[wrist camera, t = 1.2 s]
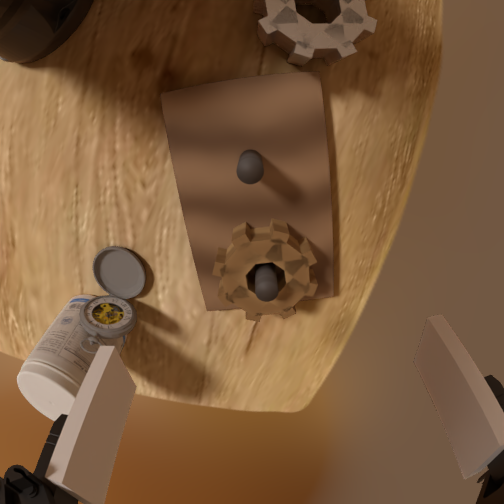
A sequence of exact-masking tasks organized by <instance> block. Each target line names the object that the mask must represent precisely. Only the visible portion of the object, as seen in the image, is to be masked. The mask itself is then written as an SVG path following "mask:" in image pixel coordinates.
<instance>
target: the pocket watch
mask: <svg viewBox="0 0 504 504" xmlns="http://www.w3.org/2000/svg"><path fill="white" fill-rule="evenodd" d="M93 273H94V277H95V279H96V281H97V283H98V284H99V285H100V287H101V288H102V289H103V290H104V291H106V292H107V293H109V294H110V295H109V296H99V297H95V298H92V299H90V300H88V301H87V302H86V303H84V304H83V306H82V307H81V309H80V313H79V316H80V322H81V324H82V326H83V327H84V329H85V330H86V331H87V332H88V333H89V334H91V335H93V336H91V337H89V338H85V339H83V340H81V342H80V346H81V348H82V349H83V350H84V351H86V352H88V353H91V354H96V353H97V351H96V352H91V351H88V350H86V349H85V348H84V347H83V342H84V341H86V340H89V341H90V345H94V344H99V345H100V346H103V345H102V344H101V343H100V342H99V339H98V338H102V339H116V338H120V337H123V336H125V335H127V334H128V333H129V332H130V331H132V329H133V328H134V326H135V323H136V321H137V314H136V310H135V308H134V307H133V305H132V304H131V303H129V302H128V301H126V299H128V298H132V297H135V296H137V295H138V294H139V293H140V292H141V291H142V289H143V288H144V285H145V281H146V273H145V270H144V266H143V265H142V263H141V262H140V260H139V259H138V258H137V257H136V256H135V255H134V254H133V253H132V252H130V251H129V250H127V249H125V248H122V247H118V246H111V247H107V248H105V249H102V250H101V251H100V252H99V253H98V254H97V255H96V257H95V258H94V261H93ZM102 310H104V311H102ZM114 310H115V311H117V312H115V313H117V315H115V316H113V315H114ZM98 311H101V312H99V314H98V313H97V312H98ZM100 313H101V314H100ZM120 314H122V316H123V317H120V316H119V315H120ZM94 315H96V316H94ZM97 315H99V316H100V317H98V316H97ZM111 315H112V316H111ZM96 317H97V318H100V319H94V318H96ZM102 317H103V318H102ZM119 317H120V318H119ZM121 319H122V320H121Z"/></svg>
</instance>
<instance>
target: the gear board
mask: <svg viewBox="0 0 504 504" xmlns="http://www.w3.org/2000/svg"><path fill="white" fill-rule="evenodd" d="M160 97H161V103H162V109H163V115H164V121H165V126H166V132H167V137H168V143H169V148H170V153H171V159H172V164H173V169H174V174H175V178H176V183H177V188H178V193H179V197H180V202H181V207H182V211H183V216H184V220H185V225H186V229H187V233H188V237H189V242H190V246H191V250H192V254H193V258H194V262H195V266H196V270H197V274H198V278H199V282H200V286H201V290H202V294H203V298H204V301H205V305H206V309H207V311H215V310H225V309H235V308H241V309H243V310H244V311H246V319H248V320H253V321H258V322H259V321H260V318H261V316H262V315H269V314H278V313H280V315H281V316H282V317H283V319H285V318H287V317H289V316H291V315H294V314H296V310H295V304H296V303H297V302H298V301H304V300H312V299H319V298H326V297H333V296H334V269H333V225H332V202H331V184H330V169H329V156H328V144H327V133H326V123H325V114H324V105H323V97H322V89H321V81H320V74H319V71H311V72H294V73H281V74H271V75H261V76H253V77H245V78H238V79H231V80H225V81H219V82H213V83H207V84H202V85H197V86H192V87H187V88H183V89H178V90H174V91H169V92H165V93H161V94H160Z"/></svg>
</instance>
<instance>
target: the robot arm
mask: <svg viewBox="0 0 504 504" xmlns="http://www.w3.org/2000/svg"><path fill="white" fill-rule="evenodd" d="M92 2H93V0H0V59H1V60H3V61H7V62H16V63H28V62H33V61H36V60H38V59H41V58H43V57H45V56H46V55H48V54H50V53H51V52H53V51H54V50H55V49H56V48H58V47H59V46H60V45H61V44H62V43H63V42H64V41H65V40H67V39H68V37H69V36H70V35H71V34H72V33H73V32H74V31H75V29H76V28H77V27H78V26H79V24H80V23H81V21H82V20H83V18H84V17H85V15H86V14H87V12H88V10H89V8H90V6H91V4H92ZM414 364H415V366H416V368H417V370H418V372H419V374H420V376H421V378H422V380H423V382H424V384H425V386H426V389H427V391H428V393H429V395H430V397H431V399H432V402H433V404H434V406H435V408H436V411H437V413H438V415H439V417H440V419H441V422H442V424H443V427H444V429H445V431H446V434H447V436H448V439H449V441H450V444H451V446H452V449H453V451H454V454H455V456H456V459H457V461H458V464H459V467H460V470H461V472H462V474H463V478H464V479H466V478H469V477H471V476H473V475H475V474H477V473H479V472H480V471H482V470H483V469H484V468H485V467H486V466H488V469H489V470H488V471H487V472H486V473H484V474H483V475H482V476H481V477H480V478H479V479H478V481H477V483H479V482H481V481H482V480H483V479H484V482H483V483H482V484H483V485H482V488H481V491H480V494H479V496H478V499H477V502H476V504H504V388H503V386H502V385H501V383H500V382H499V381H498V380H497V379H495V378H494V377H493V376H492V375H489V376H487V377H483V375H482V374H481V372H480V370H479V369H478V367H477V366H476V364H475V362H474V361H473V360H472V358H471V356H470V355H469V353H468V352H467V350H466V349H465V347H464V346H463V344H462V342H461V341H460V340H459V338H458V337H457V335H456V334H455V332H454V331H453V329H452V328H451V326H450V325H449V324H448V322H447V321H446V319H445V318H444V317H443V315H442V314H440V315H435V316H430V317H427V320H426V324H425V328H424V331H423V334H422V337H421V340H420V343H419V346H418V350H417V353H416V356H415V358H414ZM135 390H136V385H135V383H134V381H133V380H132V378H131V376H130V374H129V372H128V370H127V369H126V367H125V365H124V363H123V361H122V359H121V357H120V355H119V353H118V351H117V349H116V347H115V346H100V347H99V349H98V351H97V353H96V355H95V357H94V359H93V362H92V364H91V366H90V368H89V370H88V372H87V374H86V376H85V378H84V381H83V383H82V385H81V387H80V389H79V392H78V394H77V396H76V398H75V401H74V403H73V405H72V408H71V410H70V412H69V415H66V414H61V415H60V416H59V417H58V418H57V420H56V421H55V422H54V424H53V426H52V428H51V430H50V435H48V438H47V440H46V443H45V445H44V448H43V450H42V453H41V455H40V458H39V460H38V464H37V466H36V469H35V471H34V473H33V474H32V473H31V472H29V471H28V470H27V469H25V468H24V467H23V466H21V465H13V466H11V467H10V468H8V470H7V471H6V472H5V475H4V479H3V478H1V477H0V504H78V500H79V501H80V502H82V503H84V504H104V502H105V498H106V494H107V490H108V486H109V481H110V477H111V473H112V470H113V466H114V462H115V458H116V455H117V451H118V447H119V443H120V440H121V436H122V433H123V429H124V426H125V422H126V419H127V416H128V413H129V409H130V406H131V403H132V400H133V396H134V393H135Z"/></svg>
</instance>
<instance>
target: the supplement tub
mask: <svg viewBox="0 0 504 504" xmlns="http://www.w3.org/2000/svg"><path fill="white" fill-rule="evenodd" d="M95 297H96V296H93V295H78V296H75V297H73V298H72V299H70V300H69V302H68V303H67V304H66V305H65V306H64V308H63V309H62V310H61V312H60V313H59V314H58V316H57V317H56V318H55V320H54V321H53V322H52V324H51V325H50V326H49V328H48V329H47V331H46V332H45V333H44V335H43V336H42V338H41V339H40V340H39V342H38V343H37V345H36V346H35V347H34V349H33V350H32V352H31V353H30V355H29V356H28V358H27V359H26V361H25V362H24V364H23V366H22V368H21V371H20V372H19V374H18V376H17V383H18V386H19V388H20V391H21V392H22V394H23V395H24V397H25V398H26V399H27V400H28V401H29V403H31V404H32V405H33V406H34V407H35V408H36V409H37V410H38V411H40V412H41V413H42V414H44V415H45V416H47V417H48V418H50V419H52V420H53V421H56V420H57V418H58V417H59V416H60V415H61V414H66V415H69V412H70V410H71V408H72V405H73V403H74V401H75V398H76V396H77V394H78V392H79V389H80V387H81V385H82V383H83V381H84V378H85V376H86V374H87V372H88V370H89V368H90V366H91V364H92V362H93V359H94V357H95V355H96V354H91V353H88V352H86V351H84V350H83V349H82V348H81V346H80V342H81V340H83V339H85V338H89V337H91V336H93V335H91V334H89V333H88V332H87V331H86V330H85V329H84V327H83V326H82V324H81V322H80V316H79V313H80V309H81V307H82V306H83V304H84V303H86V302H87V301H88V300H90V299H92V298H95ZM102 311H104V310H102ZM99 312H101V311H98V312H97V313H98V314H99ZM115 312H117V311H115V310H114V315H113V316H115V315H117V313H115ZM100 314H101V313H100ZM94 316H96V315H94ZM97 316H98V317H100V316H99V315H97ZM111 316H112V315H111ZM119 316H120V317H121V315H119ZM120 317H119V318H120ZM102 318H103V317H102ZM94 319H100V318H97V317H96V318H94ZM121 320H122V319H121ZM126 338H127V335H125V336H123V337H120V338H116V339H102V338H98V339H99V342H100V343H101V344H102V345H103V346H115V347H116V349H117V351H118V353H119V355H120V353H121V351H122V348H123V346H124V344H125V341H126ZM83 347H84V348H85V349H86V350H88V351H91V352H96V351H98V349H99V347H100V345H99V344H94V345H90V341H89V340H86V341H84V342H83Z"/></svg>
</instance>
